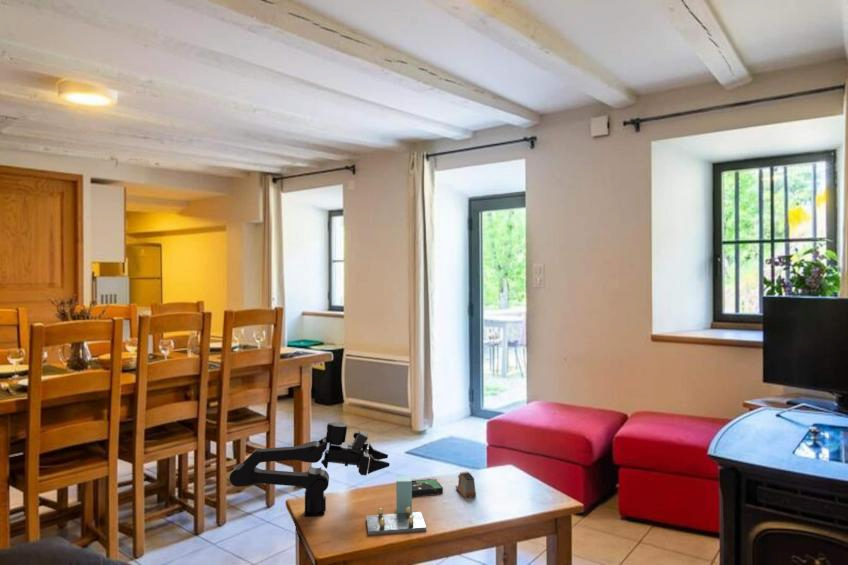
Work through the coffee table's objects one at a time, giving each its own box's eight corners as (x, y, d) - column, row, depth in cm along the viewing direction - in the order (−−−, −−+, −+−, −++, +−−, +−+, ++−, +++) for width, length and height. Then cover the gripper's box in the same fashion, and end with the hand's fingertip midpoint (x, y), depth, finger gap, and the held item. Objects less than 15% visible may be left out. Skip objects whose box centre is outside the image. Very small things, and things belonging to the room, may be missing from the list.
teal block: (396, 514, 192) (396, 481, 192) (397, 508, 197) (397, 476, 197) (411, 514, 192) (411, 481, 192) (411, 508, 197) (411, 476, 197)
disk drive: (403, 499, 207) (443, 494, 210) (403, 491, 207) (443, 487, 210) (398, 489, 217) (436, 485, 221) (397, 481, 217) (435, 477, 220)
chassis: (368, 535, 176) (368, 522, 176) (366, 519, 188) (366, 507, 188) (426, 531, 179) (426, 518, 179) (420, 515, 191) (420, 503, 191)
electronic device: (465, 487, 216) (465, 467, 216) (476, 496, 207) (476, 476, 207) (454, 489, 215) (454, 469, 215) (465, 498, 206) (465, 477, 206)
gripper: (346, 439, 186) (394, 444, 188) (347, 424, 205) (390, 429, 207) (341, 473, 186) (388, 478, 188) (342, 455, 205) (385, 460, 206)
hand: (388, 460), depth 197 cm, fingers open, 9 cm apart
